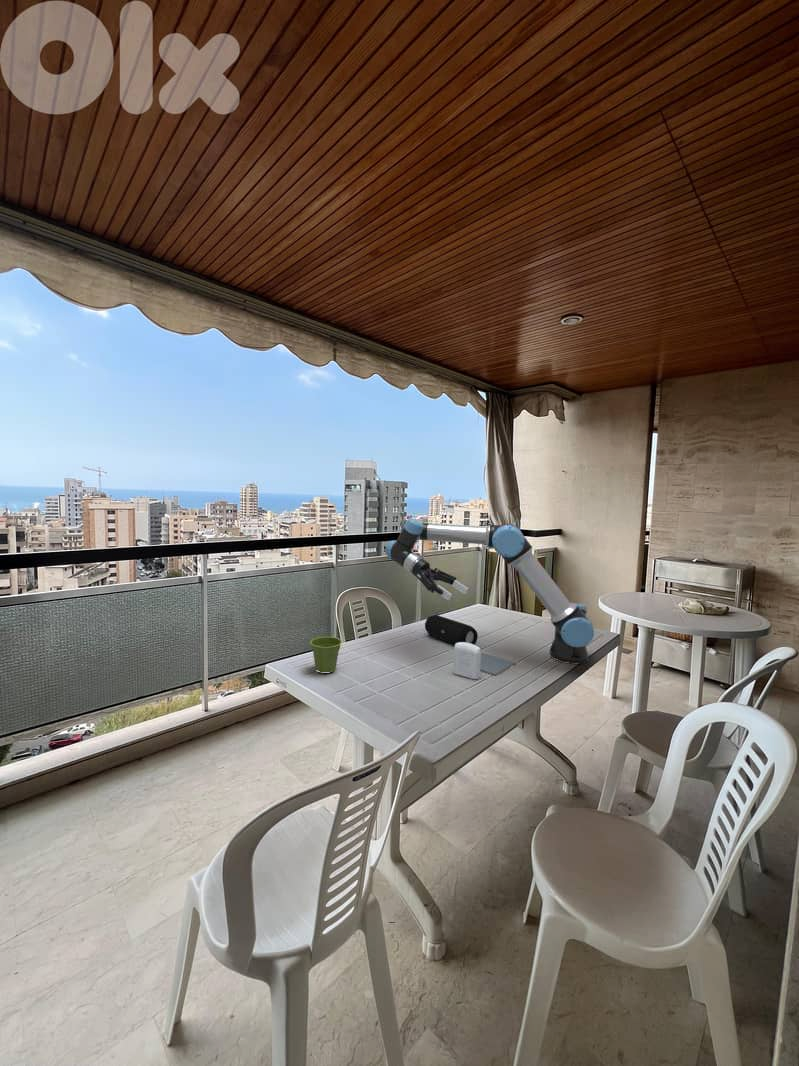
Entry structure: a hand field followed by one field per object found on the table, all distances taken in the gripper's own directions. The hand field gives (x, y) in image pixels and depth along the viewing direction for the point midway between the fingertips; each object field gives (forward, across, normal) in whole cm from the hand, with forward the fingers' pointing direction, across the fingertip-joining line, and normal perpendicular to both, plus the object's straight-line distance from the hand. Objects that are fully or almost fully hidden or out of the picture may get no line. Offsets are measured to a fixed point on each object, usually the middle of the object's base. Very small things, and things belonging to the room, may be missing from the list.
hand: (458, 594), depth 168 cm
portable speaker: (-3, -25, -33) cm, 42 cm away
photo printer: (+18, +5, -23) cm, 30 cm away
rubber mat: (+20, -10, -22) cm, 31 cm away
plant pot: (-22, +34, -42) cm, 58 cm away
